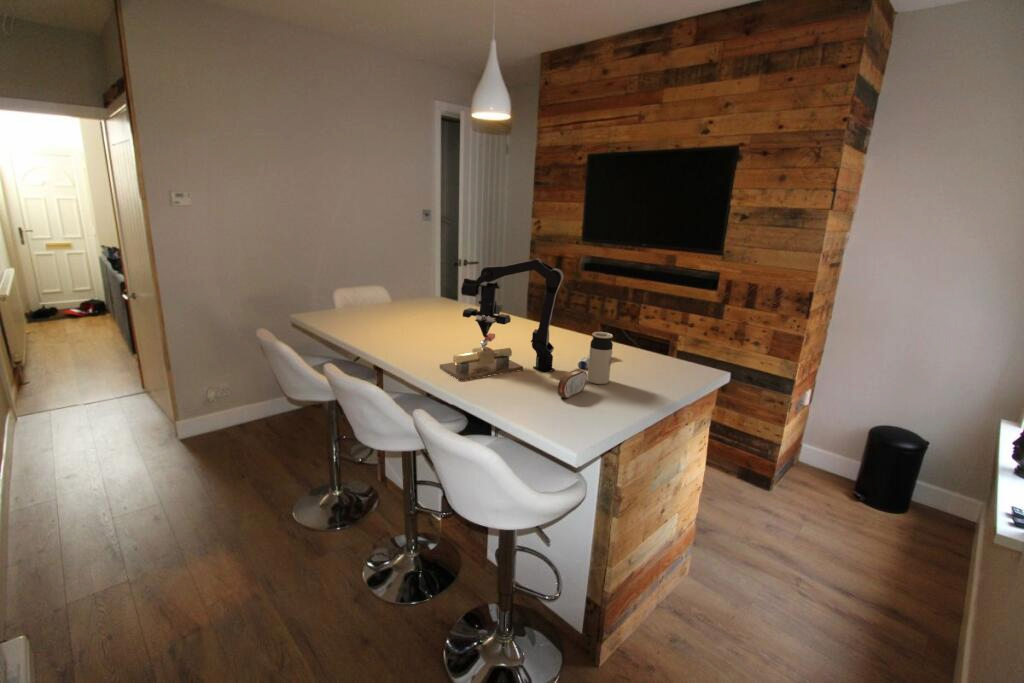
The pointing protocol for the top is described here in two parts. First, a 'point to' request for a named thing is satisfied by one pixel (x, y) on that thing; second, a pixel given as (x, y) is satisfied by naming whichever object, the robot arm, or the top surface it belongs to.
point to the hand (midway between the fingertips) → (484, 337)
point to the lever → (487, 339)
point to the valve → (481, 363)
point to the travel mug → (600, 358)
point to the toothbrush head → (584, 363)
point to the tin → (572, 383)
